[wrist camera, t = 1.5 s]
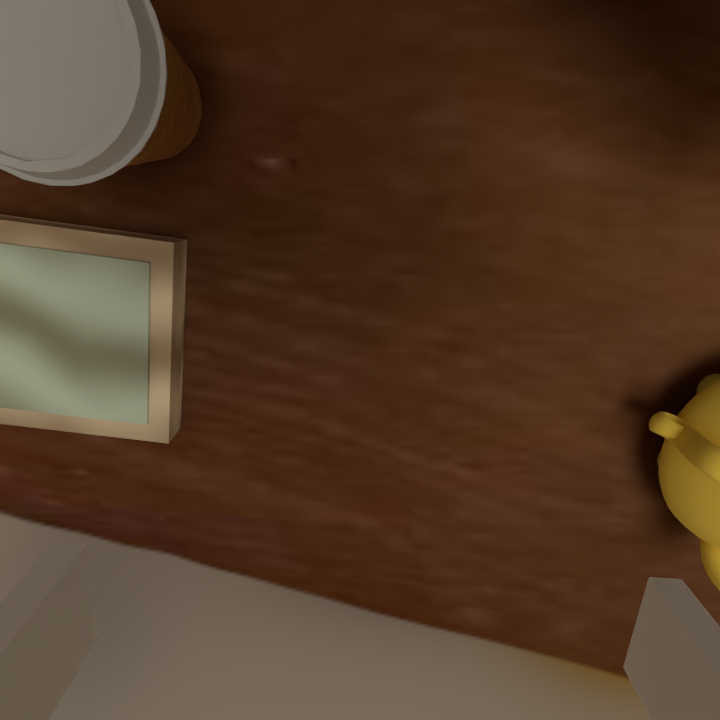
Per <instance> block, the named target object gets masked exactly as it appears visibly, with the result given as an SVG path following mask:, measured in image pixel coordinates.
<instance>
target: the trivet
mask: <svg viewBox="0 0 720 720" xmlns="http://www.w3.org/2000/svg"><path fill="white" fill-rule="evenodd" d="M186 262H187V239H181V238H174V237H166V236H159V235H151V234H144V233H136V232H129V231H121V230H114V229H106V228H99V227H92V226H84V225H77V224H69V223H62V222H54V221H47V220H39V219H32V218H24V217H17V216H10V215H2V214H0V424H7V425H16V426H24V427H33V428H41V429H50V430H58V431H67V432H75V433H84V434H92V435H101V436H109V437H118V438H126V439H135V440H144V441H152V442H161V443H169V442H170V441H171V440H172V438H173V437H174V436H175V434H176V433H177V432H178V431H179V429H180V428H181V412H182V382H183V352H184V322H185V292H186Z"/></svg>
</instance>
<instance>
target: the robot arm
mask: <svg viewBox="0 0 720 720" xmlns="http://www.w3.org/2000/svg"><path fill="white" fill-rule="evenodd" d="M97 638H98V636H97V629H96V620H95V612H94V604H93V596H92V587H91V579H90V572H89V563H88V556H87V547H86V545H81V544H64V543H53V544H52V545H51V546H50V547H49V548H48V549H47V550H46V551H45V553H44V554H43V555H42V556H41V557H40V558H39V559H38V561H37V562H36V563H35V564H34V565H33V566H32V567H31V569H30V570H29V571H28V572H27V573H26V574H25V575H24V576H23V578H22V579H21V580H20V581H19V582H18V583H17V584H16V585H15V587H14V588H13V589H12V590H11V591H10V592H9V593H8V595H7V596H6V597H5V598H4V599H3V600H2V601H1V603H0V720H49V719H50V717H51V715H52V714H53V712H54V710H55V708H56V707H57V705H58V703H59V702H60V700H61V698H62V697H63V695H64V693H65V692H66V690H67V688H68V687H69V685H70V683H71V682H72V680H73V678H74V677H75V675H76V673H77V671H78V670H79V668H80V667H81V665H82V663H83V662H84V660H85V658H86V657H87V655H88V653H89V651H90V650H91V648H92V646H93V645H94V643H95V641H96V639H97ZM623 668H624V670H625V672H626V673H627V675H628V677H629V679H630V681H631V683H632V685H633V686H634V688H635V690H636V692H637V694H638V696H639V698H640V700H641V701H642V703H643V705H644V707H645V709H646V710H647V713H648V714H649V716H650V718H651V720H720V626H719V625H718V624H717V623H716V621H715V620H714V619H713V618H712V616H711V615H710V614H709V613H708V611H707V610H706V609H705V608H704V607H703V605H702V604H701V603H700V602H699V600H698V599H697V598H696V597H695V595H694V594H693V593H692V592H691V590H690V589H689V588H688V587H687V585H686V584H685V583H684V582H683V580H682V579H670V578H653V577H649V579H648V582H647V586H646V589H645V593H644V596H643V600H642V603H641V607H640V610H639V614H638V617H637V621H636V624H635V628H634V631H633V635H632V638H631V642H630V645H629V649H628V652H627V656H626V659H625V663H624V666H623Z"/></svg>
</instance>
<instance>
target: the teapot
mask: <svg viewBox="0 0 720 720" xmlns="http://www.w3.org/2000/svg"><path fill="white" fill-rule="evenodd" d="M649 429H650V431H652V432H654V433H656V434H659V435H661V436H662V437H664V438H665V440H664V443H663V446H662V449H661V452H660V453H659V455H658V457H657V465H658V467H659V469H658V474H659V483H660V487H661V490H662V494H663V497H664V499H665V501H666V504H667V506H668V507H669V509H670V510H671V512H672V513H673V515H674V516H675V517H676V518H677V519H678V520H679V521H680V522H681V523H682V524H683V525H684V526H685V527H686V528H687V529H688V530H690V531H691V532H692V533H693V534H695V535H696V536H697V537H699V538H700V553H701V558H702V562H703V566H704V568H705V570H706V572H707V574H708V576H709V577H710V579H711V580H712V582H713V583H714V584H715V586H716V587H717V588H718V589H719V590H720V374H711V375H709V376H707V377H705V378H704V379H703V380H702V381H701V382H700V383H699V385H698V387H697V395H696V396H694V397H693V398H692V399H691V400H690V401H689V402H688V403H687V404H686V405H685V407H684V408H683V409H682V410H681V411H680V413H679V414H678V415H677V416H675V415H673V414H671V413H668V412H663V411H661V412H658V413H656V414H654V415H653V416H652V417H651V419H650V421H649Z"/></svg>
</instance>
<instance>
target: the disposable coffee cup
mask: <svg viewBox="0 0 720 720" xmlns="http://www.w3.org/2000/svg"><path fill="white" fill-rule="evenodd" d="M201 116H202V100H201V94H200V89H199V87H198V84H197V82H196V79H195V77H194V75H193V74H192V72H191V70H190V69H189V67H188V66H187V65H186V63H185V62H184V60H183V59H182V58H181V56H180V55H179V53H178V52H177V50H176V49H175V48H174V46H173V45H172V43H171V42H170V40H169V39H168V37H167V36H166V35H165V33H164V32H163V30H162V29H161V27H160V25H159V22H158V19H157V16H156V13H155V10H154V8H153V6H152V4H151V2H150V0H0V169H2V170H5V171H7V172H9V173H11V174H13V175H15V176H17V177H20V178H22V179H24V180H28V181H33V182H37V183H41V184H46V185H50V186H76V185H83V184H89V183H92V182H95V181H97V180H100V179H102V178H105V177H108V176H110V175H112V174H114V173H115V172H117V171H118V170H120V169H121V168H123V167H127V166H132V165H137V164H142V163H148V162H152V161H157V160H164V159H168V158H170V157H173V156H175V155H177V154H179V153H180V152H182V151H183V150H185V148H186V147H187V146H188V145H189V144H190V143H191V142H192V140H193V139H194V137H195V136H196V134H197V131H198V129H199V126H200V123H201Z"/></svg>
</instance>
